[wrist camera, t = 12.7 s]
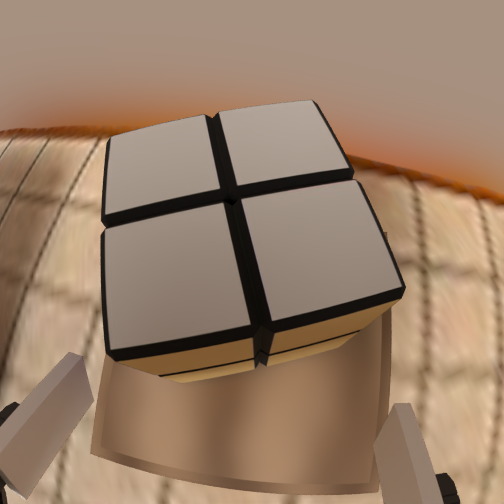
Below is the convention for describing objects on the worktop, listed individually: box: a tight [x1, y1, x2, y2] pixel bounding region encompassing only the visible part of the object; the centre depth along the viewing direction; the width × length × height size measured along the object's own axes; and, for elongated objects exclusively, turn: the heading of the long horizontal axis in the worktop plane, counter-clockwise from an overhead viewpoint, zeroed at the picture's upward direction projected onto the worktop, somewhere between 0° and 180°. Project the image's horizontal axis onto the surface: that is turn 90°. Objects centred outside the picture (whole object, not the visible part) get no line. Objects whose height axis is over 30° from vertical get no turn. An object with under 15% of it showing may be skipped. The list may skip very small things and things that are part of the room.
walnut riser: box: [90, 232, 392, 495], centre depth 21 cm, size 18×18×6 cm
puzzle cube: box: [101, 100, 406, 383], centre depth 16 cm, size 10×10×10 cm
